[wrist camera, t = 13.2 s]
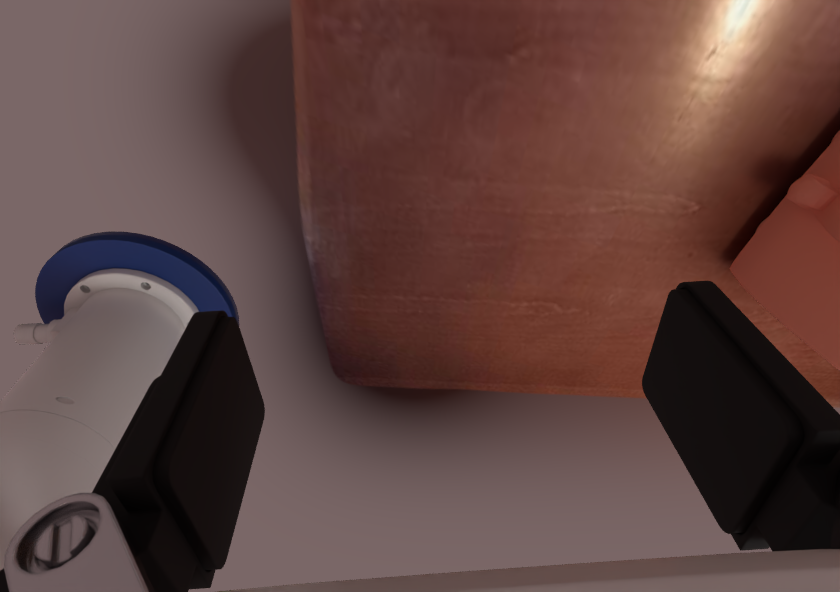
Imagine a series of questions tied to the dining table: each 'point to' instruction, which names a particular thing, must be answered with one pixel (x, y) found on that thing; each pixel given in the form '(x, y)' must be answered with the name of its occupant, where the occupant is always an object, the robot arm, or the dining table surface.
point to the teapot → (801, 258)
